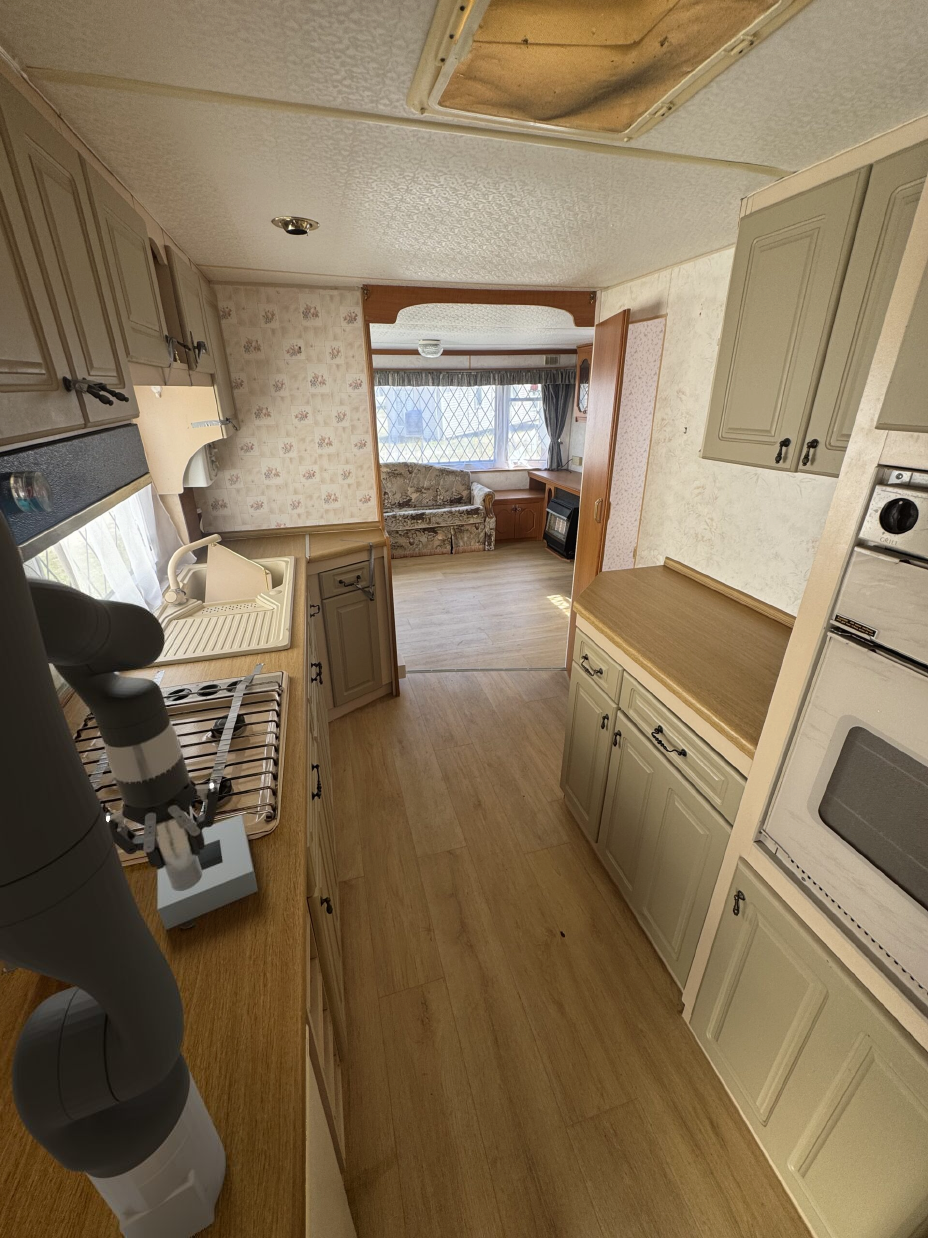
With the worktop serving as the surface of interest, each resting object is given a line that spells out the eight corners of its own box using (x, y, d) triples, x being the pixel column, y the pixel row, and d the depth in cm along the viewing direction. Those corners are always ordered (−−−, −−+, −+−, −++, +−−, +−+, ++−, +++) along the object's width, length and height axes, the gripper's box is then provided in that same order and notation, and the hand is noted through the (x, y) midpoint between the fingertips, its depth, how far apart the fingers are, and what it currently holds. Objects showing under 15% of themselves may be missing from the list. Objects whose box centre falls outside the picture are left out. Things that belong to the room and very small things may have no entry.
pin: (203, 883, 71) (183, 819, 66) (171, 895, 69) (148, 831, 64) (201, 862, 74) (182, 800, 69) (170, 873, 72) (148, 810, 67)
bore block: (258, 891, 86) (252, 871, 84) (165, 930, 80) (157, 909, 78) (246, 833, 97) (241, 814, 95) (164, 863, 91) (157, 844, 89)
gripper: (74, 798, 57) (118, 902, 64) (212, 757, 63) (238, 856, 70) (82, 760, 63) (121, 858, 70) (207, 726, 69) (232, 819, 76)
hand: (179, 856), depth 70 cm, fingers closed on pin, 4 cm apart
